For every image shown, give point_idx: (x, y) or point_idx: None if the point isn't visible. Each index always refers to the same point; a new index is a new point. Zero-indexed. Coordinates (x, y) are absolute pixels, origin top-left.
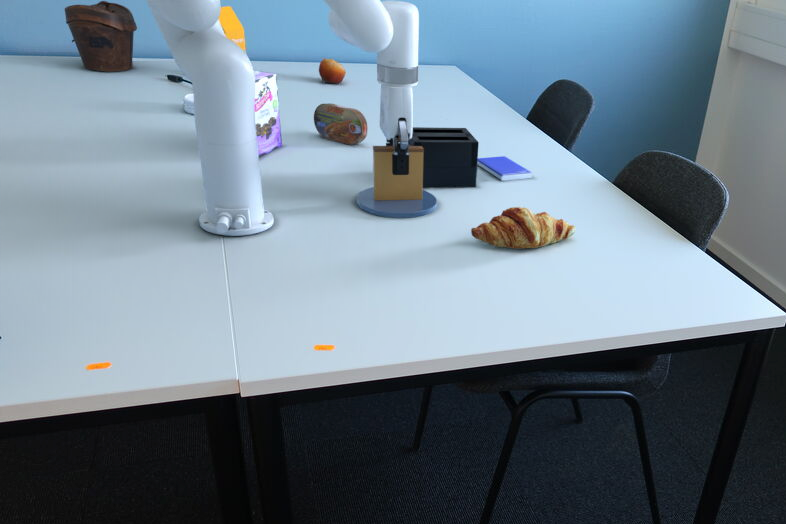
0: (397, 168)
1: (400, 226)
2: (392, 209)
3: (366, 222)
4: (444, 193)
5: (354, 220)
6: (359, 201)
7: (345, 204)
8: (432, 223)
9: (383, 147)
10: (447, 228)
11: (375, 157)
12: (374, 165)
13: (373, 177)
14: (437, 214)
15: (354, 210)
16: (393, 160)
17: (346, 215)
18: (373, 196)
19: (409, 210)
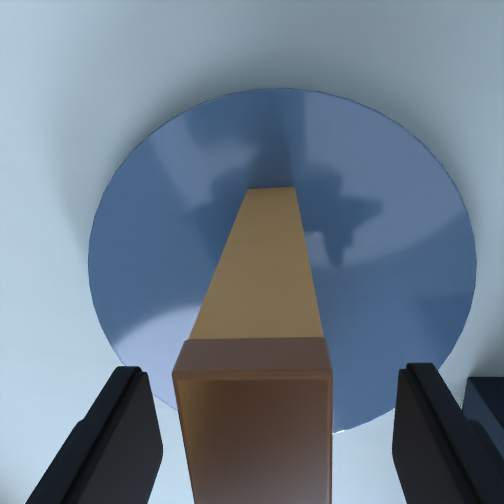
0: (71, 432)
1: (10, 263)
2: (130, 258)
3: (23, 120)
4: (383, 467)
5: (36, 59)
6: (228, 100)
7: (263, 17)
8: (65, 377)
9: (242, 492)
10: (29, 412)
11: (200, 311)
12: (227, 261)
13: (296, 216)
14: (157, 407)
15: (174, 67)
16: (59, 465)
17: (97, 15)
18: (308, 186)
19: (126, 325)
